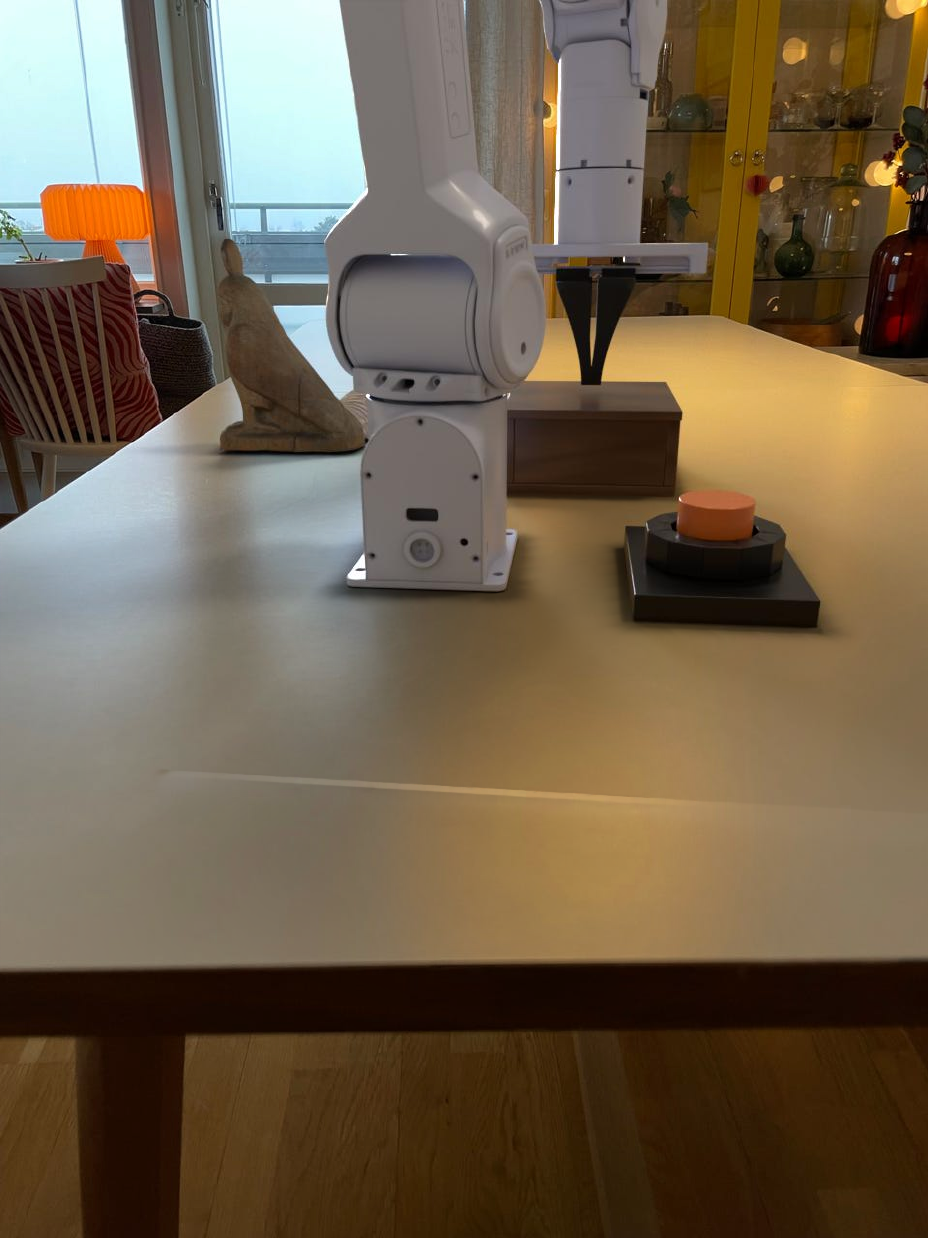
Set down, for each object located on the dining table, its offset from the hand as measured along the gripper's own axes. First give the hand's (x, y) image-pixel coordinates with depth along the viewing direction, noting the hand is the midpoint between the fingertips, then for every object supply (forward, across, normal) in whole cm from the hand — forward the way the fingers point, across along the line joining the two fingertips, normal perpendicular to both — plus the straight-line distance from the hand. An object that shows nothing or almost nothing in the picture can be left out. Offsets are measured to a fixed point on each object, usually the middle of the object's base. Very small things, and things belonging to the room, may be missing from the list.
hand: (590, 383), depth 66 cm
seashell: (+7, +18, -16) cm, 25 cm away
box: (+7, 0, 0) cm, 7 cm away
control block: (+7, -6, +23) cm, 25 cm away
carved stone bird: (0, +26, -32) cm, 41 cm away
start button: (+4, -6, +23) cm, 24 cm away
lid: (+1, 0, 0) cm, 1 cm away
